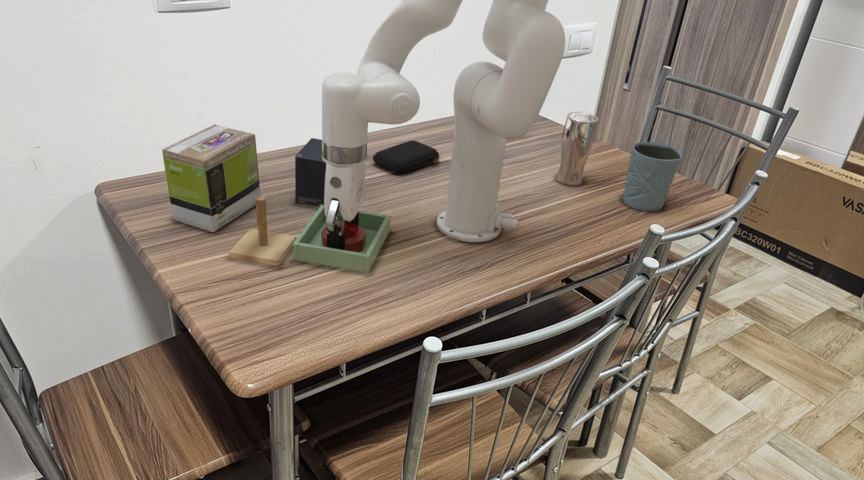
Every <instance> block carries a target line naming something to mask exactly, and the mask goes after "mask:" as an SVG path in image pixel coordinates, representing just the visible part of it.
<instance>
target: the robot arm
mask: <svg viewBox="0 0 864 480" xmlns="http://www.w3.org/2000/svg"><path fill="white" fill-rule="evenodd" d="M463 1H464V0H401V1H400V2H399V4H397V6H396V7H395V8H394V9H392V11H391V12H390V13H389V14H388V16H386V18H385V19H384V20H383V21H382V23H381V24H380V25H379V26H378V27H377V29H376V30H375V31H374V33H373V35H372V37H371V38H370V40H369V42H368V44H367V47H366V48H365V52H364V54H363V56H362V58H361V61H360V64H359V66H358V68H357V72H356V73H351V72H336V73H332V74H329V75H327V76H326V77H325V78H324V79H323V81H322V84H321V140H322V159H323V161H324V162H326V163H327V164H326V174H325V193H324V210H325V216H326V217H327V219H326V229H327V230H326V233H327V247H328V248H334V249H340V250H345V233H343V232H344V226H345V223H350V224H355V225H357V226H359V212H358V211H361V208H362V207H363V205H364V203H365V200H366V165H365V164H366V162H367V159H368V136H369V135H368V132H369V123H370V124H381V125H382V124H383V125H400V124H405V123H407V122H409V121H411V120H412V119H413V118H414V117H415V116H416V115H417V113H418V112H419V110H420V105H421V98H420V97H421V96H420V94H419V92H418V90H417V88H416V87H415V85H413V83H412V82H410V81H409V80H408V79H407V78H406V77H405V76H403V75H402V74H401V71H402V68H403V66H404V64H405V62H406V60H407V59H408V56H409V55H410V53H411V51H412V50H413V49H414V48H415V47H416V46H417V44H418V43H419V42H421V41H422V40H423V39H425V38H426V37H429V36H431V35H433V34H436V33H438V32H440V31H443V30H445V29H447V28H449V27H450V26H451V25H452V23H453V22H454V20H455V18H456V16H457V14H458V11H459V9H460V7H461V5H462V3H463ZM548 3H549V0H492V3H491V6H490V8H489V12H488V14H487V16H486V19H485V22H484V25H483V29H482V42H483V45H484V46H485V48H486V50H487V51H488V52H489V53H491V54H492V55H493V56H496V58H499V59H500V60H502V61H504V62H505V63H504V66H503V67H501V66H499V65H497V64H495V63H492V62H489V61H476V62H473V63H471V64H468V65H467V66H466V67H464V68H463V69H462V70H461V72H460V73H459V74H458V75H457V78H456V80H455V83H454V87H453V114H454V116H453V117H454V127H453V128H454V130H453V143H452V151H451V159H450V160H451V162H450V169H449V179H448V188H447V189H448V190H447V198H446V208H445V210H443V211H442V212H440V213H439V215H437V218H436V226H437V229H438V230H439V231H440V232H441V233H443V234H444V235H446V236H448V237H450V238H452V239H455V240H458V241H459V242H465V243H483V242H489V241H491V240H493V239H495V238H497V237H498V236H499V235H500V234H501V231H502V228H506V229H510V230H517V228H518V223H519V219H518V218H517V219H515V218H513V215H514V213H513V214H512V213H508V212H507V213H506V212H505V213H504V212H502V211H500V210H499V206H500V205H499V203H498V198H499V191H500V185H501V178H502V171H503V164H504V157H505V152H506V143H507V139H514V138H517V137H520V136H522V135H523V134H526V132H528V130H530V128H531V127H532V126H533V125H534V123H535V121H536V120H537V118H538V117H539V114H540V112H541V110H542V108H543V106H544V103H545V101H546V98H547V97H548V94H549V91H550V89H551V87H552V84H553V82H554V80H555V77H556V75H557V72H558V70H559V68H560V65H561V63H562V60H563V57H564V54H565V49H566V33H565V29H564V26H563V24H562V23H561V21H560V20H559V18H557V17H556V16H555V15H554V14H552V13H551V12H549V11H547V10H546V9H547V5H548ZM337 213H340V214H341V217H339V216H337ZM336 220H339V221H341V222H340V228H339V226H338V225H336V222H335V221H336Z"/></svg>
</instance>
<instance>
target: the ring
mask: <svg viewBox="0 0 864 480" xmlns="http://www.w3.org/2000/svg"><path fill="white" fill-rule="evenodd" d="M336 225H338V226H339V228H340V223H336ZM326 230H327V229H326V227H325V228H324V229H323V231H322V232H321V244H322V246H323V247H327V233H326ZM343 233H345V250H346V251H352V252H361V251H362V250H363V249H364V247H365V245H366V233H365V231H364V229H363V228H361V227H359V226H357V225H355V224H350V223H345V226H344V232H343Z"/></svg>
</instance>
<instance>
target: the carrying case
mask: <svg viewBox="0 0 864 480" xmlns="http://www.w3.org/2000/svg"><path fill="white" fill-rule="evenodd" d="M439 159H440V154H439V151H438V150H437V149H436V148H434V147H432V146H430V145H427V144H425V143H422V142H419V141H417V140H408V141H405V142H402V143H399V144H396V145H393V146H389V147H387V148H385V149H381V150H379V151H377V152H376V153H375V154H373V156H372V161H373V162H374V163H375V164H376V165H377V166H379V167H381V168H384V169H385V170H387V171H390V172H392V173H394V174H397V175H400V174H401V175H402V174H405V173H407V172H410V171H412V170H413V171H414V170H415V169H418V168H421V167H424V166H426V165H428V164H435V163H436V162H437V161H439Z"/></svg>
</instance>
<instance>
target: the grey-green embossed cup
mask: <svg viewBox="0 0 864 480" xmlns="http://www.w3.org/2000/svg"><path fill="white" fill-rule="evenodd" d="M682 160H683V153H682V152H681V151H680V150H679V149H677V148H675V147H673V146H670V145H667V144H664V143H660V142H653V141H641V142H636V143H634V144H633V145H632V147H631V152H630V160H629V164H628V170H627V172H628V173H627V174H626V179H625V180H626V181H625V185H624V190H623V194H622V201H623V203H624V204H625V205H626V206H628V207H629V208H631V209H635V210H636V211H637V210H638V211H641V212H658V211H660V210H662V208H663V206H664V205H665V202H666V198H667V197H668V195H669V191H670V188H671V186H672V184H673V181H674V179H675V175H676V174H677V171H678V169H679V167H680V164H681V162H682Z"/></svg>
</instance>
